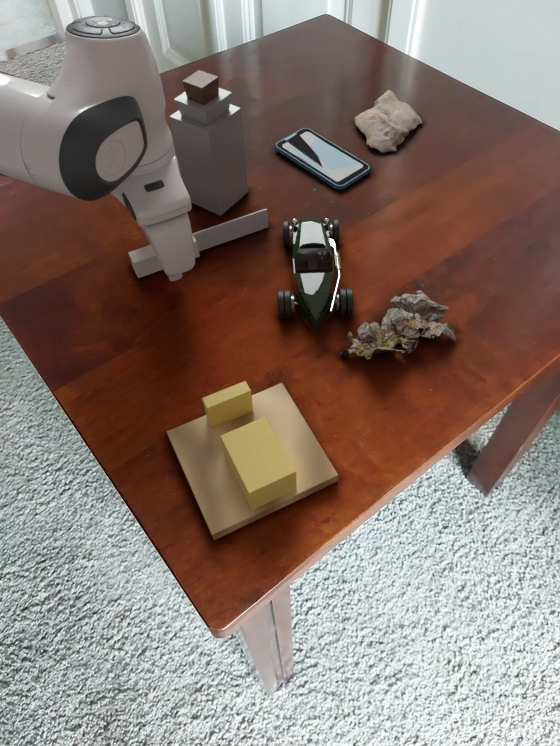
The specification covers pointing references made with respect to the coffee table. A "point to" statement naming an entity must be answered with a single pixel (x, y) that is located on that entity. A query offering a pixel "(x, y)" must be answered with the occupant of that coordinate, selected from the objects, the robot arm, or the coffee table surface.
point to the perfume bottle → (209, 144)
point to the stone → (387, 122)
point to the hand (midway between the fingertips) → (162, 254)
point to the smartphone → (322, 158)
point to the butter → (259, 462)
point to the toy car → (314, 273)
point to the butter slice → (228, 404)
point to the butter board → (215, 476)
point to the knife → (202, 240)
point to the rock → (401, 326)
